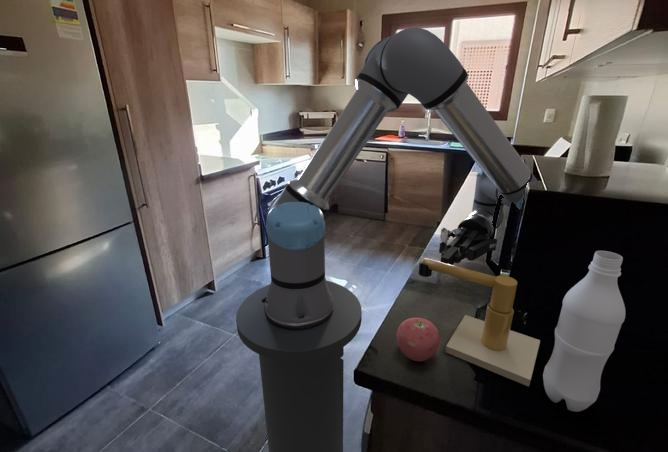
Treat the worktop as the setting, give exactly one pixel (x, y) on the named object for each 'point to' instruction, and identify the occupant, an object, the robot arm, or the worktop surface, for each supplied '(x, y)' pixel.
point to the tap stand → (495, 346)
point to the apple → (418, 339)
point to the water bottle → (586, 334)
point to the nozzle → (501, 284)
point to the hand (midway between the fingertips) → (444, 264)
